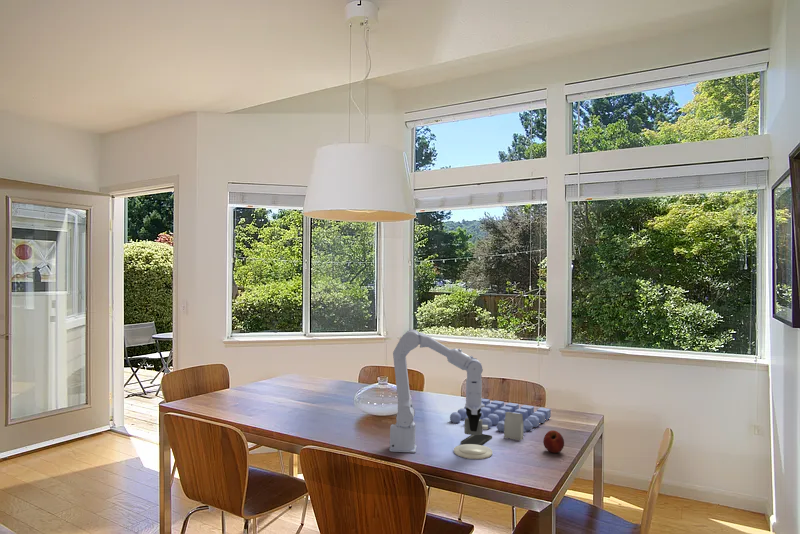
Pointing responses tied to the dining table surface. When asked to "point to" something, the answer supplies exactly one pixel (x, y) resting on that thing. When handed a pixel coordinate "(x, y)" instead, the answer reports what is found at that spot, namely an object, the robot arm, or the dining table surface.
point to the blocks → (497, 411)
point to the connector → (479, 428)
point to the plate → (473, 451)
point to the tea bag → (513, 426)
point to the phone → (477, 439)
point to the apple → (553, 441)
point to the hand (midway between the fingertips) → (473, 429)
